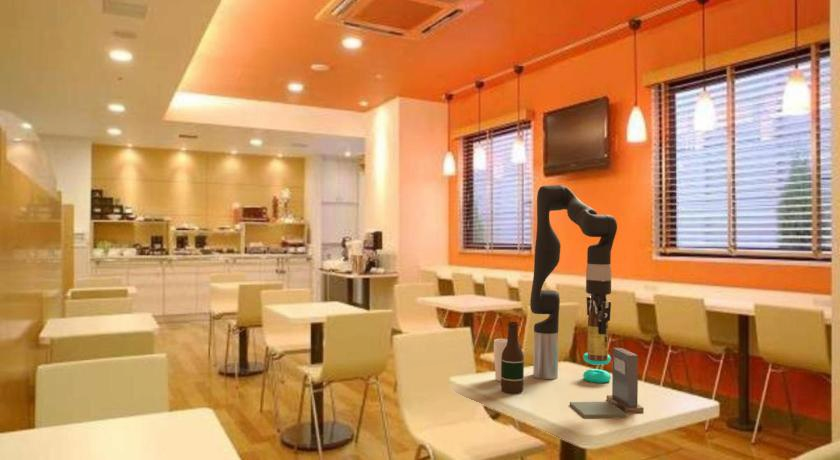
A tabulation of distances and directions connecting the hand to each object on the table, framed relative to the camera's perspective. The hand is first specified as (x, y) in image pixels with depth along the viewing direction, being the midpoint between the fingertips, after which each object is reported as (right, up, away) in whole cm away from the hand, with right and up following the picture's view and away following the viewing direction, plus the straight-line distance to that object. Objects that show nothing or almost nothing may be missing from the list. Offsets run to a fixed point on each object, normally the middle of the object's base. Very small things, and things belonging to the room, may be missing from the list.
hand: (597, 332), depth 183 cm
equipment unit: (+10, -25, +6) cm, 27 cm away
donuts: (+11, -25, +39) cm, 48 cm away
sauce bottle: (0, -9, 0) cm, 9 cm away
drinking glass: (-25, -25, +37) cm, 51 cm away
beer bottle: (-23, -25, +22) cm, 40 cm away
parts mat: (0, -25, 0) cm, 25 cm away
